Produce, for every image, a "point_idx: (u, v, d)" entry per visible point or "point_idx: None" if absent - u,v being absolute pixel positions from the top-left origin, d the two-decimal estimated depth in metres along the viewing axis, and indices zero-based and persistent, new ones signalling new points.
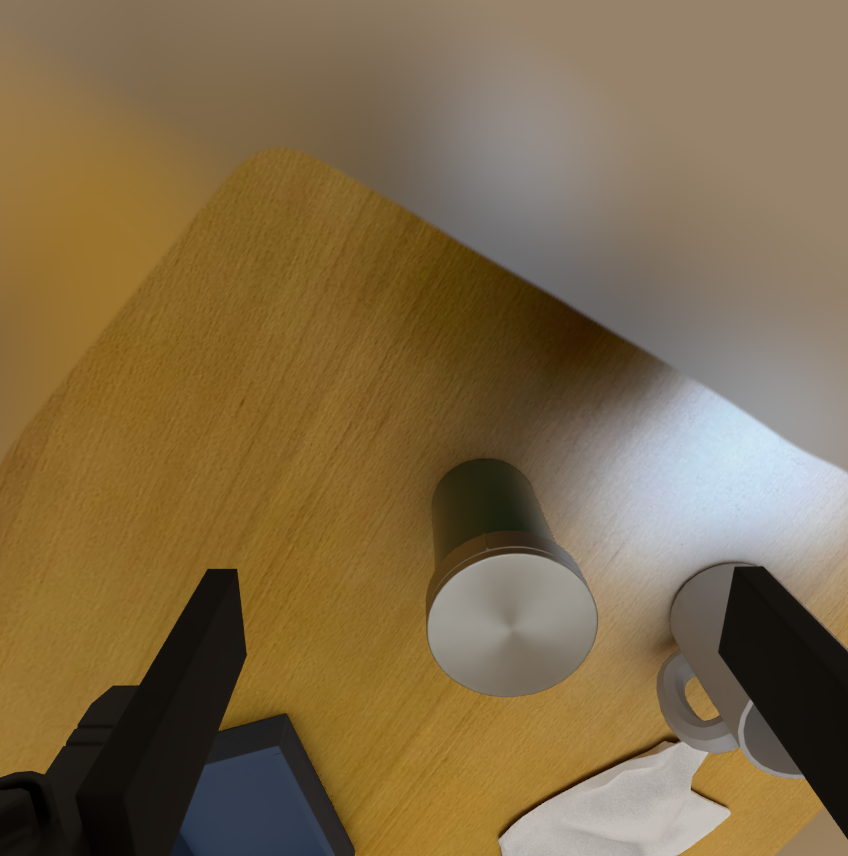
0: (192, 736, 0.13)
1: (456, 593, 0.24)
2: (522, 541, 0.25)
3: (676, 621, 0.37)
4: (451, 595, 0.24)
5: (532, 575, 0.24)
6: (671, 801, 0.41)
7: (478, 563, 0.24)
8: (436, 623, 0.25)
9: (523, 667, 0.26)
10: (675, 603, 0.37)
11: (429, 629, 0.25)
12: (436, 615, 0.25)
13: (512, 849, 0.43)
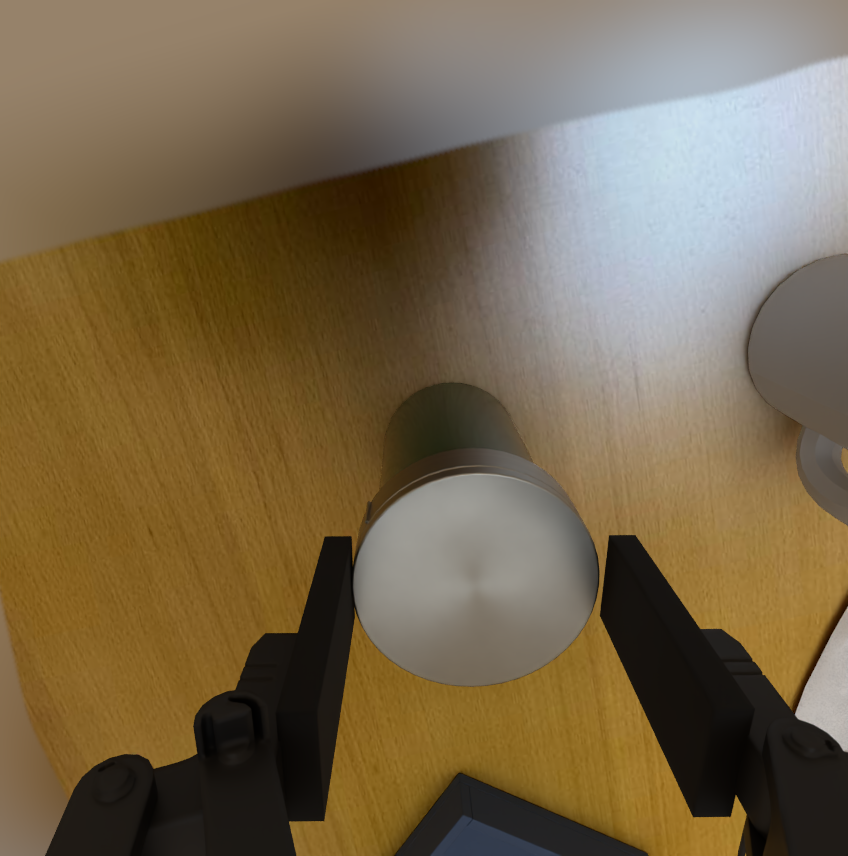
0: (337, 677, 0.14)
1: (374, 597, 0.17)
2: (402, 481, 0.17)
3: (769, 398, 0.26)
4: (371, 603, 0.17)
5: (434, 513, 0.16)
6: None
7: (362, 548, 0.17)
8: (388, 643, 0.18)
9: (533, 618, 0.18)
10: (753, 379, 0.26)
11: (387, 654, 0.18)
12: (379, 635, 0.18)
13: None
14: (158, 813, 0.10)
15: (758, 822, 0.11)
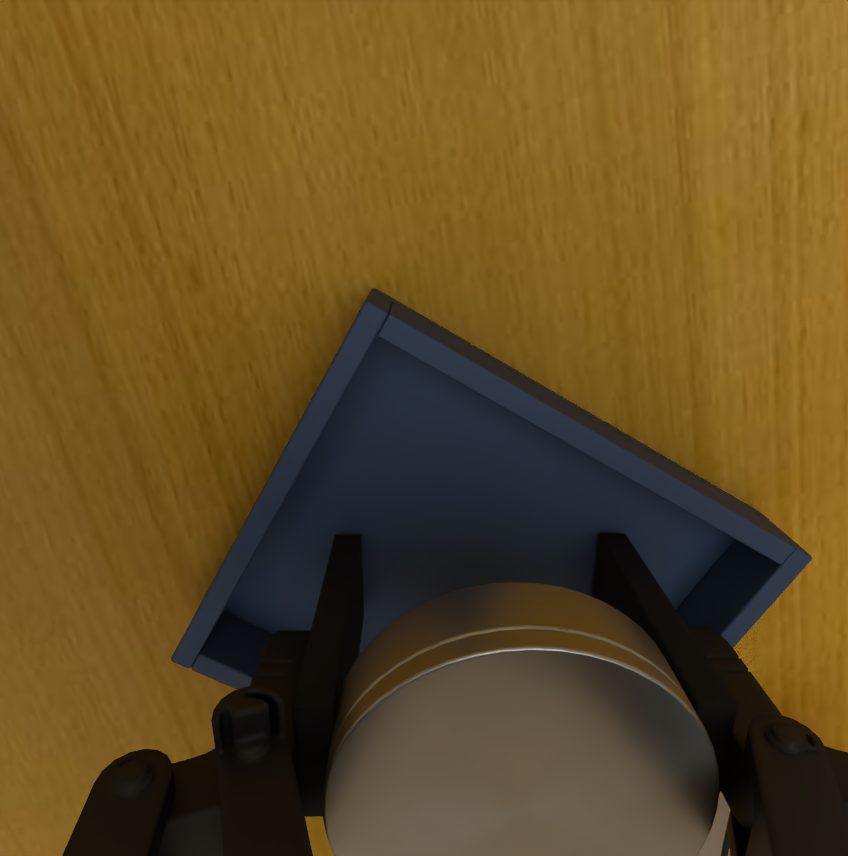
0: None
1: None
2: None
3: None
4: None
5: (383, 850, 0.11)
6: None
7: None
8: None
9: (600, 743, 0.10)
10: None
11: None
12: None
13: None
14: (177, 807, 0.10)
15: (741, 818, 0.11)
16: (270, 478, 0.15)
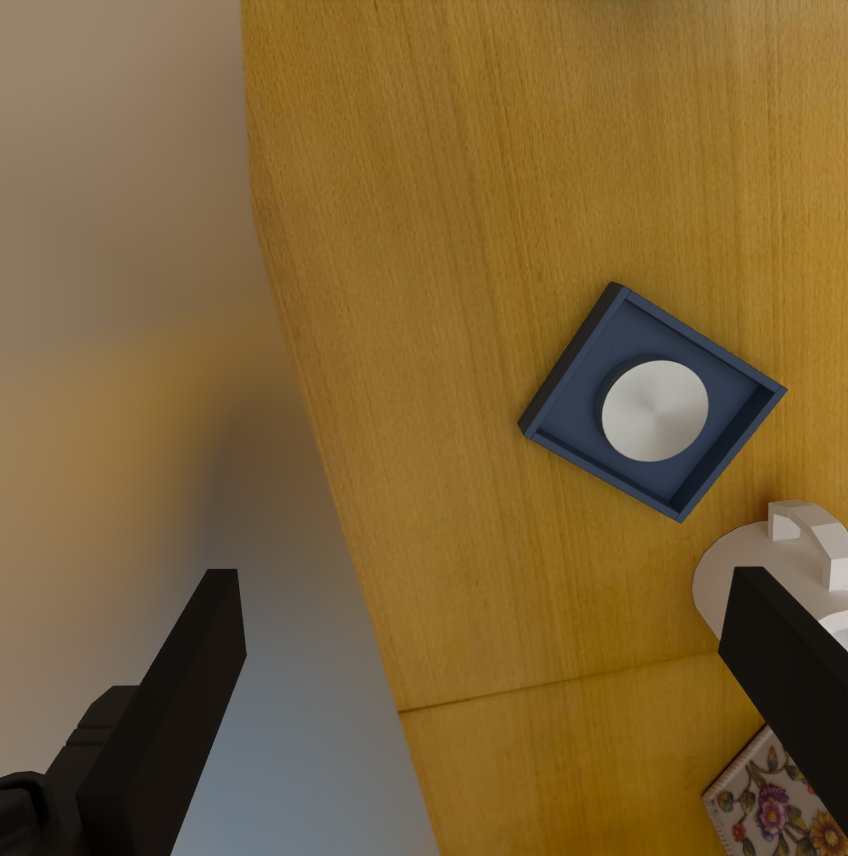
0: (192, 736, 0.13)
1: (649, 453, 0.41)
2: (601, 432, 0.42)
3: None
4: (651, 455, 0.41)
5: (616, 425, 0.40)
6: None
7: (625, 455, 0.41)
8: (673, 450, 0.41)
9: (677, 389, 0.40)
10: None
11: (678, 452, 0.41)
12: (668, 454, 0.41)
13: None
14: None
15: None
16: (577, 354, 0.39)
